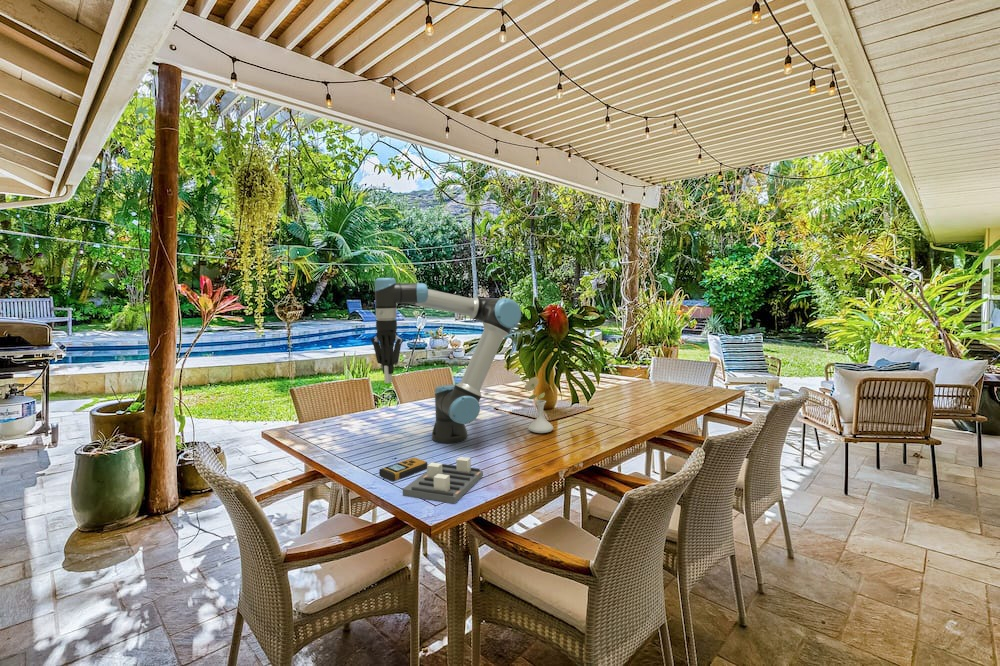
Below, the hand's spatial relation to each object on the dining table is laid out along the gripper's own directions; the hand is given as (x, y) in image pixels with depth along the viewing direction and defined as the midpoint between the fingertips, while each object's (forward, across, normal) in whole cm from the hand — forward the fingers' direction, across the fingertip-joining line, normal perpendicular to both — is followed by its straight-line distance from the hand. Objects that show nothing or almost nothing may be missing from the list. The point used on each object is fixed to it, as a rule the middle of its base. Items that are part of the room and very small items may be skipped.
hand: (388, 382), depth 180 cm
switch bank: (+29, +31, -16) cm, 46 cm away
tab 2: (+27, +34, -24) cm, 50 cm away
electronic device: (+30, +12, -10) cm, 34 cm away
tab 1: (+27, +27, -16) cm, 42 cm away
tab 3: (+27, +34, -8) cm, 44 cm away
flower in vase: (+30, +44, +51) cm, 74 cm away
